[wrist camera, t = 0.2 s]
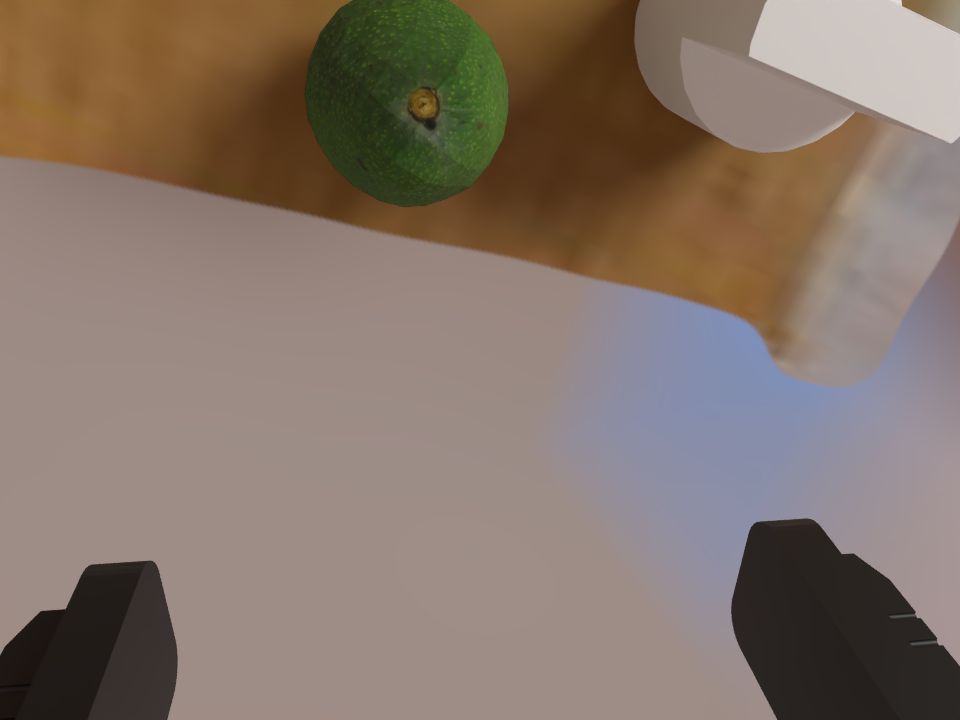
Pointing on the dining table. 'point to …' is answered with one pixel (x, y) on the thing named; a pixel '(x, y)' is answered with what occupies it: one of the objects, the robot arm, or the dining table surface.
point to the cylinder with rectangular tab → (798, 67)
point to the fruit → (407, 98)
